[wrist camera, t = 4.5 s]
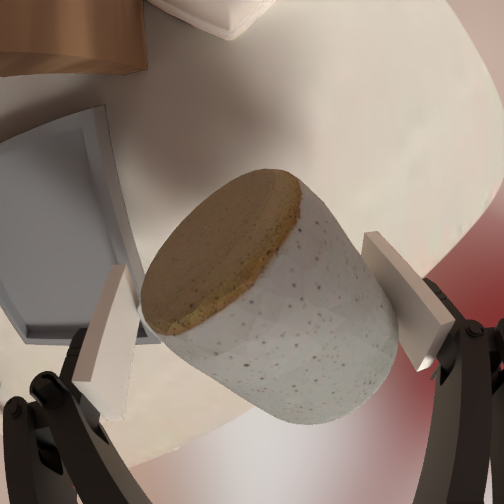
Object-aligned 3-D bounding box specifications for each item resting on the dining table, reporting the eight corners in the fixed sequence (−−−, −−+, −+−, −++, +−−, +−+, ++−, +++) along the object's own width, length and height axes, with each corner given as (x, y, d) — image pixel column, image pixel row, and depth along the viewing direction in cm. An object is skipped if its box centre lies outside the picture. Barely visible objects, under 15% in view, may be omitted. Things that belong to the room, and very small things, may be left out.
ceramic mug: (267, 134, 11) (342, 214, 5) (359, 257, 15) (431, 369, 9) (108, 279, 14) (65, 408, 8) (214, 353, 18) (222, 466, 12)
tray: (31, 330, 22) (25, 344, 20) (-41, 165, 13) (-55, 174, 11) (163, 326, 23) (160, 343, 21) (104, 104, 14) (92, 107, 12)
